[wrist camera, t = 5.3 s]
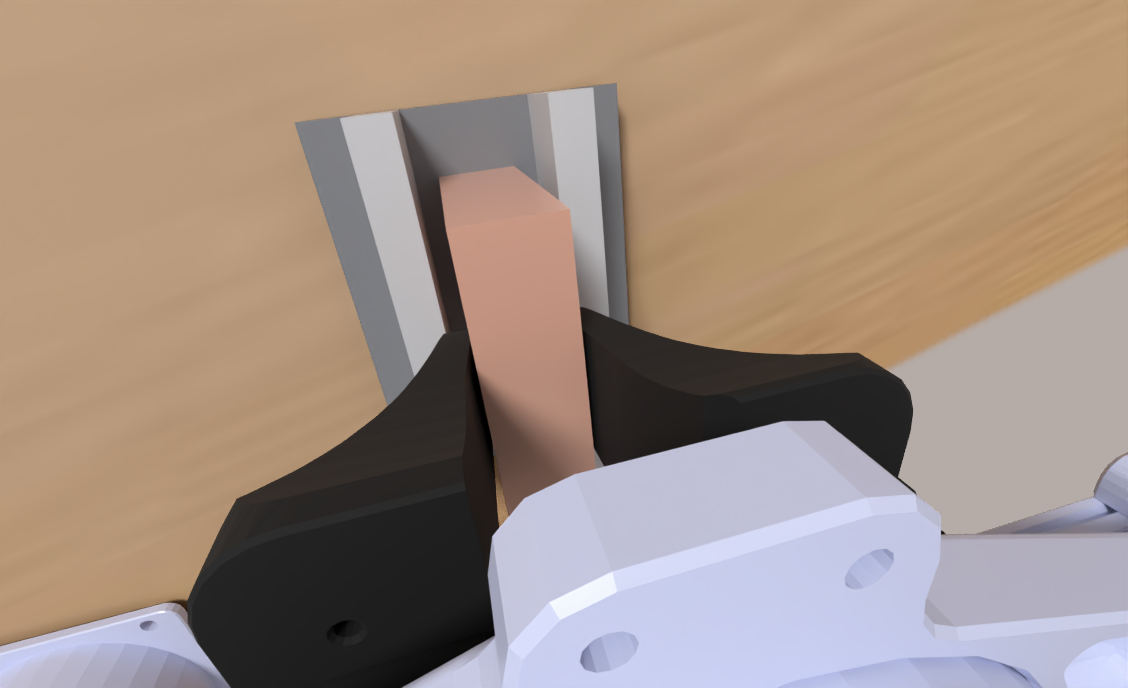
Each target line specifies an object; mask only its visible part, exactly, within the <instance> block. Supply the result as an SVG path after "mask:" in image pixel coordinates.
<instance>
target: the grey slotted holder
mask: <svg viewBox="0 0 1128 688" xmlns="http://www.w3.org/2000/svg"><path fill="white" fill-rule="evenodd" d="M295 125H296V129H297V132H298V135H299V138H300V141H301V144H302V147H303V150H304V153H305V156H306V159H307V162H308V165H309V168H310V171H311V174H312V177H313V180H314V183H315V186H316V189H317V192H318V195H319V198H320V202H321V205H322V208H323V211H324V214H325V217H326V220H327V223H328V226H329V229H330V232H331V235H332V238H333V241H334V244H335V247H336V250H337V253H338V256H339V259H340V262H341V265H342V268H343V271H344V275H345V278H346V281H347V284H348V287H349V290H350V293H351V296H352V299H353V302H354V305H355V308H356V311H357V314H358V317H359V320H360V323H361V326H362V329H363V332H364V335H365V338H366V341H367V344H368V347H369V351H370V354H371V357H372V360H373V363H374V366H375V369H376V372H377V375H378V378H379V381H380V384H381V387H382V390H383V393H384V396H385V399H386V402H387V405H389V404H391V403H392V402H393V401H394V400H395V399H396V398H397V397H398V396H399V394H400V393H401V392H402V391H403V390H404V389H405V388H406V386H407V385H408V384H409V383H410V382H411V380H412V379H413V378H414V377H415V375H416V374H417V373H418V371H419V370H420V369H421V367H422V366H423V364H424V363H425V361H426V360H427V358H428V357H429V355H430V354H431V352H432V351H433V349H434V347H435V346H436V344H437V342H438V341H439V339H440V338H441V336H442V335H443V334H445V333H450V332H455V331H460V330H465V329H468V328H467V323H466V319H465V314H464V310H463V305H462V301H461V296H460V291H459V287H458V282H457V278H456V273H455V269H454V264H453V259H452V255H451V250H450V246H449V241H448V237H447V232H446V226H445V219H444V211H443V204H442V197H441V189H440V182H439V177H442V176H449V175H456V174H463V173H469V172H476V171H483V170H490V169H497V168H504V167H510V166H515V167H516V168H517V169H519V170H520V171H521V172H523V173H524V174H525V175H527V176H528V177H529V178H530V179H532V180H533V181H534V182H536V183H537V184H538V185H540V186H541V187H542V188H543V189H545V190H546V191H547V192H549V193H550V194H551V195H553V196H554V197H555V198H556V199H558V200H559V201H560V202H562V203H563V204H564V205H566V206H567V207H568V208H570V215H571V225H572V235H573V245H574V255H575V265H576V275H577V285H578V295H579V305H580V307H584V308H588V309H590V310H593V311H595V312H598V313H600V314H603V315H605V316H607V317H610V318H612V319H615V320H617V321H620V322H622V323H625V324H627V325H629V318H628V298H627V278H626V259H625V239H624V219H623V199H622V179H621V160H620V140H619V120H618V100H617V83H615V84H604V85H596V86H588V87H579V88H571V89H563V90H555V91H547V92H539V93H530V94H522V95H514V96H506V97H498V98H489V99H481V100H473V101H465V102H457V103H448V104H440V105H432V106H424V107H416V108H408V109H399V110H391V111H383V112H375V113H367V114H358V115H350V116H342V117H334V118H326V119H318V120H309V121H302V122H296V123H295ZM493 454H494V456H495V451H494V447H493ZM594 456H595V466H596V469H597V468H601V467H604V465H603V464H602V462H601V460H600V458H599V456H598V455H597V453H596V451H595V449H594Z"/></svg>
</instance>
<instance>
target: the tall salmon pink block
mask: <svg viewBox="0 0 1128 688" xmlns="http://www.w3.org/2000/svg"><path fill="white" fill-rule="evenodd" d="M439 182H440V189H441V197H442V204H443V211H444V219H445V226H446V232H447V237H448V241H449V246H450V250H451V255H452V259H453V264H454V269H455V273H456V278H457V282H458V287H459V291H460V296H461V301H462V305H463V310H464V314H465V319H466V323H467V328H468V332H469V337H470V342H471V346H472V351H473V355H474V360H475V364H476V369H477V374H478V378H479V383H480V387H481V392H482V396H483V401H484V406H485V410H486V415H487V419H488V424H489V428H490V433H491V438H492V442H493V447H494V451H495V456H496V460H497V465H498V470H499V474H500V479H501V483H502V488H503V492H504V497H505V502H506V506H507V511H508V515H509V516H510V515H511V514H512V512H513V511H514V510H515V509H516V508H517V506H518V505H519V504H520V503H521V502H522V501H523V499H524V498H526V497H528V496H530V495H532V494H534V493H536V492H539V491H541V490H543V489H545V488H547V487H549V486H551V485H553V484H555V483H557V482H559V481H562V480H564V479H566V478H568V477H570V476H572V475H574V474H578V473H582V472H586V471H590V470H593V469H596V466H595V456H594V446H593V436H592V426H591V416H590V406H589V395H588V385H587V375H586V365H585V355H584V345H583V335H582V325H581V315H580V305H579V295H578V285H577V275H576V265H575V255H574V245H573V235H572V225H571V215H570V208H568V207H567V206H566V205H564V204H563V203H562V202H560V201H559V200H558V199H556V198H555V197H554V196H553V195H551V194H550V193H549V192H547V191H546V190H545V189H543V188H542V187H541V186H540V185H538V184H537V183H536V182H534V181H533V180H532V179H530V178H529V177H528V176H527V175H525V174H524V173H523V172H521V171H520V170H519V169H517V168H516V167H515V166H510V167H504V168H497V169H490V170H483V171H476V172H469V173H463V174H456V175H449V176H442V177H439Z"/></svg>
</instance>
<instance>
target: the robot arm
mask: <svg viewBox="0 0 1128 688" xmlns="http://www.w3.org/2000/svg"><path fill="white" fill-rule="evenodd" d="M580 315H581V325H582V335H583V345H584V355H585V365H586V375H587V385H588V395H589V406H590V416H591V426H592V436H593V446H594V449H595V451H596V453H597V455H598V456H599V458H600V460H601V462H602V464H603V465H604V467H601V468H597V469H593V470H590V471H586V472H582V473H578V474H574V475H572V476H570V477H568V478H566V479H564V480H562V481H559V482H557V483H555V484H553V485H551V486H549V487H547V488H545V489H543V490H541V491H539V492H536V493H534V494H532V495H530V496H528V497H526V498H524V499H523V501H522V502H521V503H520V504H519V505H518V506H517V508H516V509H515V510H514V511H513V512H512V514H511V515H510V516H509V517H508V518H507V519H506V521H505V522H504V523H503V524H502V525H501V527H500V528H499V522H498V513H497V499H496V484H495V469H494V454H493V442H492V438H491V433H490V428H489V424H488V419H487V415H486V410H485V406H484V401H483V396H482V392H481V387H480V383H479V378H478V374H477V369H476V364H475V360H474V355H473V351H472V346H471V342H470V337H469V332H468V329H465V330H460V331H455V332H450V333H445V334H443V335H442V336H441V338H440V339H439V341H438V342H437V344H436V346H435V347H434V349H433V351H432V352H431V354H430V355H429V357H428V358H427V360H426V361H425V363H424V364H423V366H422V367H421V369H420V370H419V371H418V373H417V374H416V375H415V377H414V378H413V379H412V380H411V382H410V383H409V384H408V385H407V386H406V388H405V389H404V390H403V391H402V392H401V393H400V394H399V396H398V397H397V398H396V399H395V400H394V401H393V402H392V403H391V404H389V405H388V406H387V407H386V408H385V409H384V410H383V411H382V412H381V413H380V414H379V415H378V416H376V417H375V418H374V419H373V420H371V421H370V422H369V423H367V424H366V425H365V426H364V427H362V428H361V429H360V430H358V431H357V432H356V433H354V434H353V435H352V436H350V437H349V438H348V439H346V440H345V441H344V442H342V443H341V444H339V445H338V446H336V447H334V448H333V449H331V450H330V451H328V452H327V453H325V454H323V455H322V456H320V457H318V458H317V459H315V460H313V461H312V462H310V463H308V464H306V465H305V466H303V467H301V468H299V469H297V470H296V471H294V472H292V473H290V474H288V475H286V476H284V477H282V478H280V479H278V480H276V481H274V482H272V483H269V484H267V485H265V486H263V487H261V488H259V489H257V490H255V491H253V492H251V493H249V494H247V495H244V496H242V497H240V498H238V499H236V501H235V503H234V505H233V506H232V508H231V510H230V512H229V514H228V516H227V517H226V519H225V521H224V523H223V525H222V527H221V529H220V531H219V533H218V535H217V537H216V539H215V541H214V544H213V546H212V548H211V550H210V552H209V554H208V556H207V558H206V561H205V563H204V565H203V567H202V569H201V571H200V573H199V576H198V578H197V580H196V582H195V584H194V587H193V589H192V591H191V594H190V596H189V598H188V600H187V612H186V610H185V609H184V608H183V607H182V606H181V605H179V604H176V603H163V604H159V605H156V606H152V607H148V608H144V609H140V610H137V611H133V612H129V613H125V614H121V615H118V616H114V617H110V618H106V619H102V620H98V621H95V622H91V623H87V624H83V625H79V626H76V627H72V628H68V629H64V630H60V631H57V632H53V633H49V634H45V635H41V636H38V637H34V638H30V639H26V640H22V641H19V642H15V643H11V644H7V645H3V646H0V688H1128V453H1125V454H1123V455H1121V456H1119V457H1117V458H1116V459H1115V460H1113V461H1112V462H1111V463H1110V464H1109V465H1108V466H1107V467H1106V468H1105V470H1104V471H1103V473H1102V474H1101V476H1100V478H1099V479H1098V481H1097V484H1096V486H1095V489H1094V496H1093V497H1090V498H1087V499H1084V500H1081V501H1078V502H1075V503H1072V504H1068V505H1065V506H1062V507H1059V508H1056V509H1053V510H1049V511H1046V512H1043V513H1040V514H1037V515H1034V516H1031V517H1028V518H1024V519H1021V520H1018V521H1015V522H1012V523H1009V524H1006V525H1003V526H999V527H996V528H993V529H990V530H987V531H984V532H981V533H977V534H945V533H944V532H943V531H942V530H941V515H940V514H939V513H938V512H937V511H936V510H935V509H933V508H932V507H930V505H928V504H927V503H926V502H925V501H923V500H922V499H921V498H920V497H919V496H917V494H916V492H915V491H914V490H913V489H912V488H911V487H909V486H908V485H907V484H906V483H904V482H903V481H902V480H901V479H899V478H898V474H899V471H900V467H901V464H902V460H903V457H904V453H905V449H906V445H907V442H908V438H909V434H910V431H911V423H912V417H913V406H912V400H911V395H910V392H909V390H908V389H907V387H906V386H905V384H904V383H903V381H902V380H901V379H900V378H898V377H897V376H895V375H893V374H892V373H890V372H889V371H887V370H885V369H884V368H882V367H881V366H879V365H877V364H876V363H874V362H872V361H871V360H869V359H868V358H866V357H864V356H863V355H861V354H859V353H834V354H805V355H792V354H764V353H751V352H740V351H732V350H724V349H716V348H710V347H704V346H699V345H694V344H690V343H685V342H681V341H676V340H672V339H669V338H665V337H662V336H659V335H656V334H653V333H649V332H646V331H643V330H641V329H638V328H635V327H632V326H630V325H627V324H625V323H622V322H620V321H617V320H615V319H612V318H610V317H607V316H605V315H603V314H600V313H598V312H595V311H593V310H590V309H588V308H584V307H580Z"/></svg>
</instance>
